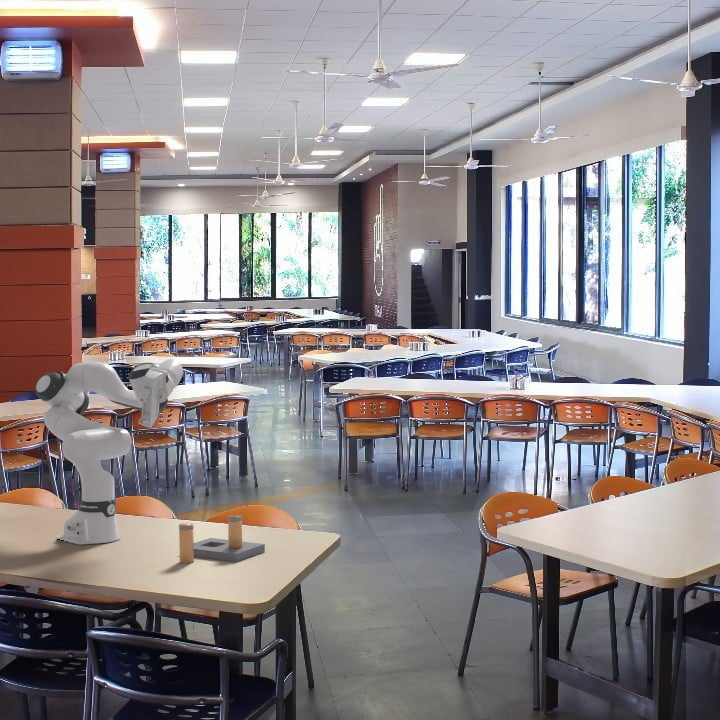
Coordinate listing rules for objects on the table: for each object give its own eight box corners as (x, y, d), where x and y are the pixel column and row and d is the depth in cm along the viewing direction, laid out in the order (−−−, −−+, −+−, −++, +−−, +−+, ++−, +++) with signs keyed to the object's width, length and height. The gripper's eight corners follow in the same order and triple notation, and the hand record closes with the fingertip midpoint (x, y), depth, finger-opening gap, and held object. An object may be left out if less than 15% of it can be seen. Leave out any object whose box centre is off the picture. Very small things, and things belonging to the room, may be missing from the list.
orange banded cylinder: (176, 562, 313) (176, 524, 313) (185, 559, 317) (185, 522, 317) (187, 564, 311) (187, 526, 310) (196, 561, 315) (196, 523, 314)
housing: (180, 554, 324) (180, 516, 323) (210, 545, 338) (210, 508, 337) (236, 561, 313) (235, 522, 313) (264, 551, 327) (264, 513, 327)
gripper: (147, 412, 347) (131, 433, 335) (150, 363, 336) (133, 383, 324) (164, 416, 346) (148, 438, 334) (168, 367, 336) (151, 388, 324)
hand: (141, 411), depth 329 cm, fingers open, 8 cm apart
